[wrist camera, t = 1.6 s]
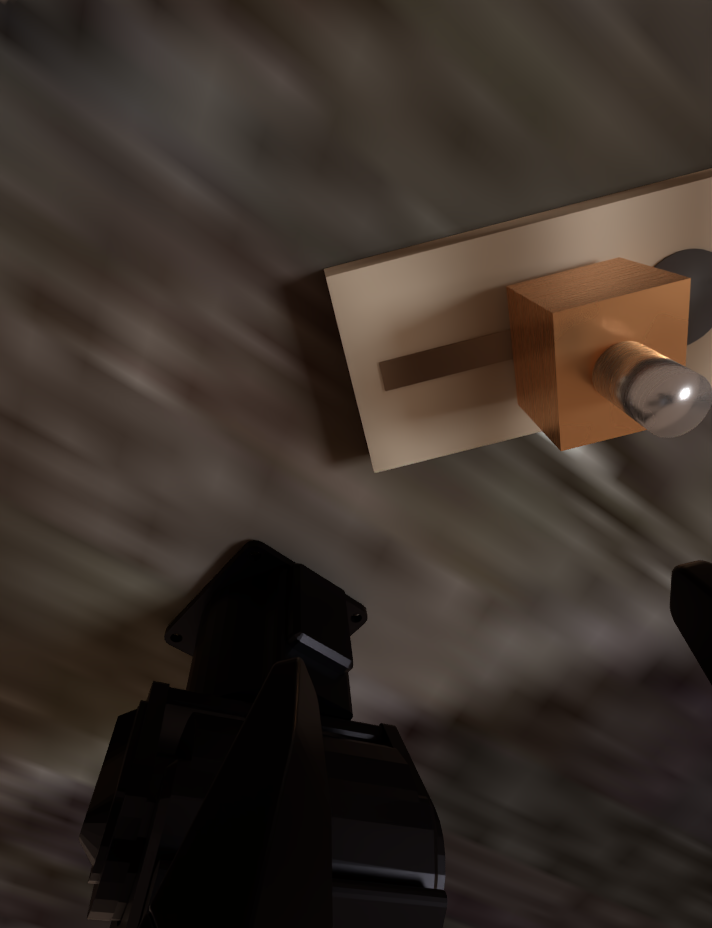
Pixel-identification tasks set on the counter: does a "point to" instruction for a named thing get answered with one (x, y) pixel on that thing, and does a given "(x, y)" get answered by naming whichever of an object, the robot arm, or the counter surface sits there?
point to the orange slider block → (605, 353)
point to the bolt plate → (497, 312)
